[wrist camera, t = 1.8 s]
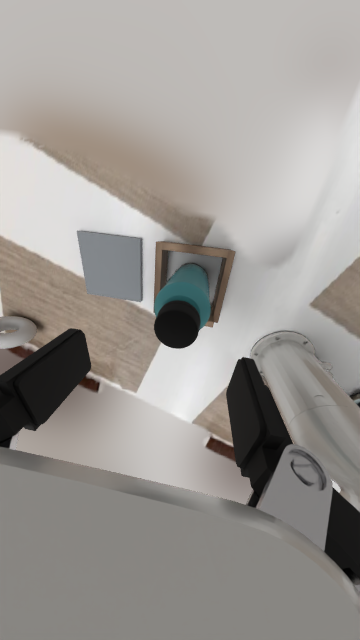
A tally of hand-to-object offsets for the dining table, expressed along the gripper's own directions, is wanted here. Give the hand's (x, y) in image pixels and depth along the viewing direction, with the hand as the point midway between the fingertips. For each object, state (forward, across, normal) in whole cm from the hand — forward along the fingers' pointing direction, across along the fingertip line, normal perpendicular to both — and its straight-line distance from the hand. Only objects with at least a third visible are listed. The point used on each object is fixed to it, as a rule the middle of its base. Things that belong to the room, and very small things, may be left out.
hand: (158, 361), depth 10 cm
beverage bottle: (+24, 0, 0) cm, 24 cm away
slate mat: (+24, +16, 0) cm, 29 cm away
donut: (+24, +40, +17) cm, 50 cm away
